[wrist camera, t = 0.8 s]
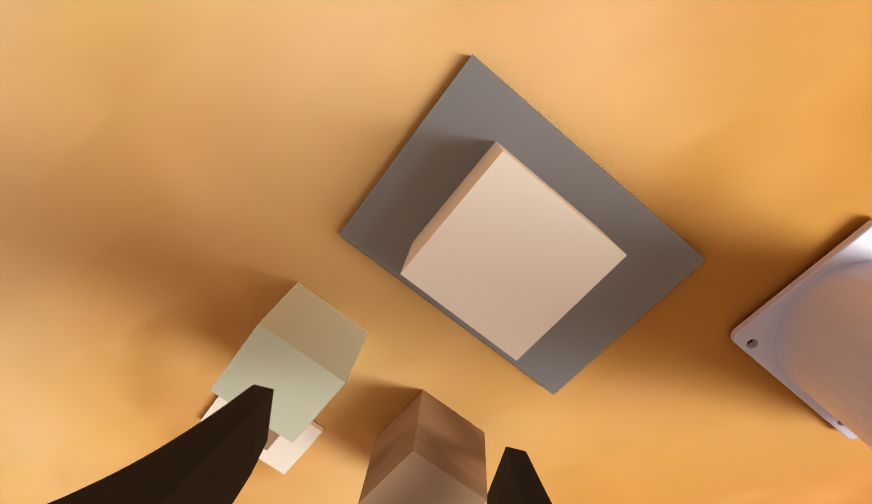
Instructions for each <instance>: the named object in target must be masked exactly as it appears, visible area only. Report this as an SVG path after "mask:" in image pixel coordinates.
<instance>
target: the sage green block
mask: <svg viewBox="0 0 872 504" xmlns="http://www.w3.org/2000/svg"><path fill="white" fill-rule="evenodd" d="M367 333H368V331H367V330H365V329H364V328H363V327H361V326H360V325H358V324H357V323H356V322H354V321H353V320H351V319H350V318H349V317H347V316H346V315H344V314H343V313H341V312H340V311H339V310H337V309H336V308H334V307H333V306H332V305H330V304H329V303H327V302H326V301H325V300H323V299H322V298H320V297H319V296H317V295H316V294H315V293H313V292H312V291H310V290H309V289H308V288H306V287H305V286H303V285H302V284H301V283H299V282H297V283H296V284H295V286H294V287H293V288H292V289H291V290H290V291H289V292H288V293H287V294H286V295H285V296H284V297H283V298H282V299H281V300H280V301H279V302H278V303H277V304H276V305H275V307H274V308H273V309H272V310H271V311H270V312H269V313H268V314H267V315H266V316H265V317H264V318H263V319H262V320H261V321H260V322H259V323H258V325H257V326H256V327H255V329H254V330H253V332H252V333H251V334H250V336H249V337H248V338H247V340H246V341H245V343H244V344H243V345H242V347H241V348H240V350H239V351H238V352H237V354H236V355H235V356H234V358H233V359H232V361H231V362H230V363H229V365H228V366H227V367H226V369H225V370H224V372H223V373H222V374H221V376H220V377H219V378H218V380H217V381H216V383H215V384H214V385H213V387H212V388H211V389H210V391H211V392H213V393H214V394H216V395H218V396H219V397H221V398H222V399H224V400H225V401H227V402H230V401H231V400H233V399H234V398H235V397H237V396H238V395H239V394H241V393H242V392H243V391H245V390H246V389H247V388H249V387H250V386H252V385H254V384H255V385H259V386H263V387H267V388H271V389H274V393H273V400H272V408H271V416H270V424H269V429H271V430H273V431H274V432H276V433H277V434H279V435H280V436H282V437H284V438H285V439H287V440H288V441H290V442H291V443H293V442H294V441H295V440H296V439H297V438H298V437H299V436H300V434H301V433H302V432H303V431H304V430H305V429H306V428H307V426H308V425H309V424H310V423H311V422H312V421H313V420H314V418H315V417H316V416H317V415H318V414H319V413H320V411H321V410H322V409H323V408H324V407H325V406H326V405H327V403H328V402H329V401H330V400H331V399H332V398H333V397H334V395H335V394H336V393H337V392H338V391H339V390H340V389H341V387H342V386H343V385H344V384H345V383H346V381H347V378H348V376H349V374H350V372H351V369H352V367H353V365H354V362H355V360H356V358H357V356H358V353H359V351H360V349H361V346H362V344H363V342H364V339H365V337H366V335H367Z"/></svg>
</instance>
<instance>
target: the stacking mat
mask: <svg viewBox="0 0 872 504" xmlns="http://www.w3.org/2000/svg"><path fill="white" fill-rule="evenodd" d="M495 141H497V142H498V143H499V144H500V145H501V146H502V147H504V148H505V149H506V150H507V151H508V152H510V153H511V154H512V155H513V156H514V157H515V158H517V159H518V160H519V161H520V162H521V163H523V164H524V165H525V166H526V167H527V168H528V169H530V170H531V171H532V172H533V173H534V174H536V175H537V176H538V177H539V178H540V179H541V180H543V181H544V182H545V183H546V184H547V185H549V186H550V187H551V188H552V189H553V190H555V191H556V192H557V193H558V194H559V195H560V196H562V197H563V198H564V199H565V200H566V201H568V202H569V203H570V204H571V205H572V206H573V207H575V208H576V209H577V210H578V211H579V212H581V213H582V214H583V215H584V216H585V217H586V218H588V219H589V220H590V221H591V222H592V223H594V224H595V225H596V226H597V227H598V228H599V229H600V230H601V231H602V232H603V233H604V234H605V235H606V236H607V237H608V238H609V239H610V240H612V241H613V242H614V243H615V244H616V245H617V246H618V247H619V248H620V249H621V250H622V251H623V252H624V253H625V254H626V255H627V256H626V257H625V258H624V259H623V260H622V261H620V262H619V263H618V264H617V265H616V266H615V267H614V268H613V269H612V270H611V271H610V272H609V273H608V274H607V275H606V276H605V277H604V278H603V279H602V280H601V281H600V282H598V283H597V284H596V285H595V286H594V287H593V288H592V289H591V290H590V291H589V292H588V293H587V294H586V295H585V296H584V297H583V298H582V299H581V300H580V301H579V302H578V303H577V304H575V305H574V306H573V307H572V308H571V309H570V310H569V311H568V312H567V313H566V314H565V315H564V316H563V317H562V318H561V319H560V320H559V321H558V322H557V323H556V324H555V325H554V326H552V327H551V328H550V329H549V330H548V331H547V332H546V333H545V334H544V335H543V336H542V337H541V338H540V339H539V340H538V341H537V342H536V343H535V344H534V345H533V346H532V347H530V348H529V349H528V350H527V351H526V352H525V353H524V354H523V355H522V356H521V357H520V358H519V359H518V360H517V361H516V360H515V359H513V358H512V357H511V356H509V355H508V354H507V353H505V352H504V351H503V350H501V349H500V348H499V347H497V346H496V345H495V344H493V343H492V342H491V341H489V340H488V339H487V338H485V337H484V336H483V335H481V334H480V333H479V332H477V331H476V330H475V329H473V328H472V327H471V326H469V325H468V324H466V323H465V322H464V321H462V320H461V319H460V318H458V317H457V316H456V315H454V314H453V313H452V312H450V311H449V310H448V309H446V308H445V307H444V306H442V305H441V304H440V303H438V302H437V301H436V300H434V299H433V298H432V297H430V296H429V295H428V294H426V293H425V292H424V291H422V290H421V289H420V288H418V287H417V286H416V285H414V284H413V283H412V282H410V281H409V280H408V279H406V278H405V277H404V276H402V275H401V274H400V273H401V271H402V268H403V266H404V263H405V261H406V258H407V256H408V253H409V250H410V248H411V245H412V243H413V241H414V240H415V239H416V238H417V236H418V235H419V234H420V233H421V231H422V230H423V229H424V228H425V227H426V225H427V224H428V223H429V222H430V220H431V219H432V218H433V217H434V216H435V214H436V213H437V212H438V211H439V210H440V208H441V207H442V206H443V205H444V203H445V202H446V201H447V200H448V199H449V197H450V196H451V195H452V194H453V192H454V191H455V190H456V189H457V188H458V186H459V185H460V184H461V183H462V182H463V180H464V179H465V178H466V177H467V175H468V174H469V173H470V172H471V171H472V169H473V168H474V167H475V166H476V164H477V163H478V162H479V161H480V160H481V158H482V157H483V156H484V155H485V154H486V152H487V151H488V150H489V149H490V147H491V146H492V145H493V144H494V143H495ZM339 235H340V236H341V237H342V238H344V239H345V240H346V241H348V242H349V243H350V244H352V245H353V246H355V247H356V248H357V249H359V250H360V251H361V252H363V253H364V254H365V255H367V256H368V257H369V258H371V259H372V260H373V261H375V262H376V263H377V264H379V265H380V266H381V267H383V268H384V269H385V270H387V271H388V272H389V273H391V274H392V275H394V276H395V277H396V278H398V279H399V280H400V281H402V282H403V283H404V284H406V285H407V286H408V287H410V288H411V289H412V290H414V291H415V292H416V293H418V294H419V295H420V296H422V297H423V298H424V299H426V300H427V301H428V302H430V303H431V304H432V305H434V306H435V307H437V308H438V309H439V310H441V311H442V312H443V313H445V314H446V315H447V316H449V317H450V318H451V319H453V320H454V321H455V322H457V323H458V324H459V325H461V326H462V327H463V328H465V329H466V330H467V331H469V332H470V333H471V334H473V335H474V336H476V337H477V338H478V339H480V340H481V341H482V342H484V343H485V344H486V345H488V346H489V347H490V348H492V349H493V350H494V351H496V352H497V353H498V354H500V355H501V356H502V357H504V358H505V359H506V360H508V361H509V362H510V363H512V364H513V365H515V366H516V367H517V368H519V369H520V370H521V371H523V372H524V373H525V374H527V375H528V376H529V377H531V378H532V379H533V380H535V381H536V382H537V383H539V384H540V385H541V386H543V387H544V388H545V389H547V390H548V391H549V392H551V393H552V394H553V395H554V394H555V393H556V392H557V391H558V390H559V389H561V388H562V387H563V386H564V385H565V384H566V383H567V382H568V381H570V380H571V379H572V378H573V377H574V376H575V375H576V374H577V373H579V372H580V371H581V370H582V369H583V368H584V367H585V366H587V365H588V364H589V363H590V362H591V361H592V360H593V359H594V358H596V357H597V356H598V355H599V354H600V353H601V352H602V351H603V350H605V349H606V348H607V347H608V346H609V345H610V344H611V343H613V342H614V341H615V340H616V339H617V338H618V337H619V336H620V335H622V334H623V333H624V332H625V331H626V330H627V329H628V328H629V327H631V326H632V325H633V324H634V323H635V322H636V321H637V320H639V319H640V318H641V317H642V316H643V315H644V314H645V313H646V312H648V311H649V310H650V309H651V308H652V307H653V306H654V305H655V304H657V303H658V302H659V301H660V300H661V299H662V298H663V297H665V296H666V295H667V294H668V293H669V292H670V291H671V290H672V289H674V288H675V287H676V286H677V285H678V284H679V283H680V282H681V281H683V280H684V279H685V278H686V277H687V276H688V275H689V274H691V273H692V272H693V271H694V270H695V269H696V268H697V267H698V266H700V265H701V264H702V263H703V262H704V261H705V260H706V259H705V258H704V257H703V256H702V255H700V254H699V253H698V252H697V251H696V250H695V249H694V248H692V247H691V246H690V245H689V244H688V243H687V242H686V241H684V240H683V239H682V238H681V237H680V236H679V235H678V234H676V233H675V232H674V231H673V230H672V229H671V228H670V227H669V226H667V225H666V224H665V223H664V222H663V221H662V220H661V219H659V218H658V217H657V216H656V215H655V214H654V213H653V212H651V211H650V210H649V209H648V208H647V207H646V206H645V205H643V204H642V203H641V202H640V201H639V200H638V199H637V198H635V197H634V196H633V195H632V194H631V193H630V192H629V191H628V190H626V189H625V188H624V187H623V186H622V185H621V184H620V183H618V182H617V181H616V180H615V179H614V178H613V177H612V176H610V175H609V174H608V173H607V172H606V171H605V170H604V169H602V168H601V167H600V166H599V165H598V164H597V163H596V162H594V161H593V160H592V159H591V158H590V157H589V156H588V155H586V154H585V153H584V152H583V151H582V150H581V149H580V148H579V147H577V146H576V145H575V144H574V143H573V142H572V141H571V140H569V139H568V138H567V137H566V136H565V135H564V134H563V133H561V132H560V131H559V130H558V129H557V128H556V127H555V126H553V125H552V124H551V123H550V122H549V121H548V120H547V119H545V118H544V117H543V116H542V115H541V114H540V113H539V112H538V111H536V110H535V109H534V108H533V107H532V106H531V105H530V104H528V103H527V102H526V101H525V100H524V99H523V98H522V97H520V96H519V95H518V94H517V93H516V92H515V91H514V90H512V89H511V88H510V87H509V86H508V85H507V84H506V83H504V82H503V81H502V80H501V79H500V78H499V77H498V76H496V75H495V74H494V73H493V72H492V71H491V70H490V69H489V68H487V67H486V66H485V65H484V64H483V63H482V62H481V61H479V60H478V59H477V58H476V57H475V56H474V55H473V54H472V56H471V57H470V58H469V60H468V61H467V62H466V64H465V65H464V66H463V68H462V69H461V70H460V72H459V73H458V74H457V76H456V77H455V78H454V80H453V81H452V83H451V84H450V85H449V87H448V88H447V89H446V91H445V92H444V93H443V95H442V96H441V97H440V99H439V100H438V101H437V103H436V104H435V105H434V107H433V108H432V109H431V111H430V112H429V113H428V115H427V116H426V118H425V119H424V120H423V122H422V123H421V124H420V126H419V127H418V128H417V130H416V131H415V132H414V134H413V135H412V136H411V138H410V139H409V140H408V142H407V143H406V144H405V146H404V147H403V148H402V150H401V151H400V153H399V154H398V155H397V157H396V158H395V159H394V161H393V162H392V163H391V165H390V166H389V167H388V169H387V170H386V171H385V173H384V174H383V175H382V177H381V178H380V179H379V181H378V182H377V183H376V185H375V186H374V188H373V189H372V190H371V192H370V193H369V194H368V196H367V197H366V198H365V200H364V201H363V202H362V204H361V205H360V206H359V208H358V209H357V210H356V212H355V213H354V214H353V216H352V217H351V218H350V220H349V221H348V223H347V224H346V225H345V227H344V228H343V229H342V231H341V232H340V233H339Z"/></svg>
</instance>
